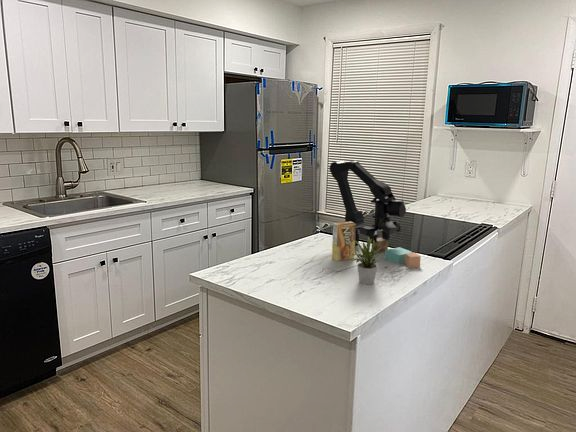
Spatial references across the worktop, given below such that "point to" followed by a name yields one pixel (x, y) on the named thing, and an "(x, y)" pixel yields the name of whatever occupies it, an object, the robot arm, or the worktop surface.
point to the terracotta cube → (412, 259)
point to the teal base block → (396, 255)
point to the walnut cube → (381, 244)
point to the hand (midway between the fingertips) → (379, 247)
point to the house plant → (366, 262)
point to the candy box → (343, 240)
